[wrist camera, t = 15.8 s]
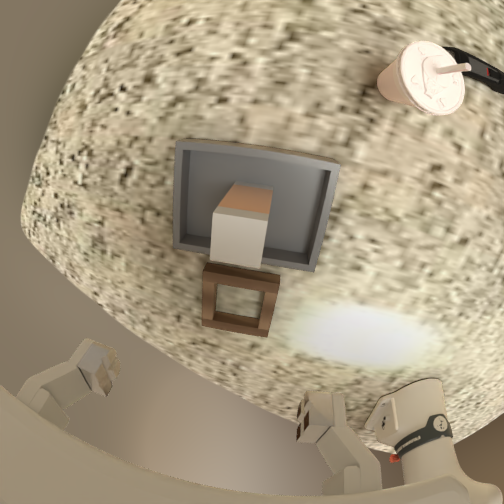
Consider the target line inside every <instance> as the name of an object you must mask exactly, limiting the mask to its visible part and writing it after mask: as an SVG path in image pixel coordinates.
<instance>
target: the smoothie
mask: <svg viewBox="0 0 504 504" xmlns="http://www.w3.org/2000/svg"><path fill="white" fill-rule="evenodd" d="M470 70H471V66H470V64H469V63H463V64H457V63H456V61H455V60H454V58H453V57H452V56H451V55H450V54H449V53H448V52H447V51H446V50H445V49H443V48H442V47H441V46H439V45H437V44H435V43H432V42H429V41H416V42H413V43H410V44H408V45H406V46H405V47H404V48H402V49H401V51H400V53H399V54H398V57H397V59H396V60H395V61H393V62H392V63H391V64H390V65H389V66H388V67H387V68H386V69H385V70H383V71H382V72H381V73H380V74H379V76H378V78H377V87H378V90H379V91H380V93H381V94H382V96H384V97H385V98H386V99H388V100H390V101H394V102H398V103H403V104H407V105H411V106H415V107H417V108H418V109H420V110H422V111H423V112H425V113H427V114H431V115H448V114H451V113H453V112H454V111H456V110H457V109H458V108H459V106H460V105H461V103H462V101H463V98H464V92H465V86H464V79H463V76H462V73H461V72H463V71H470Z"/></svg>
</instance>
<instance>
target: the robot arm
mask: <svg viewBox="0 0 504 504" xmlns="http://www.w3.org/2000/svg"><path fill="white" fill-rule="evenodd" d="M116 354H117V353H116V350H115V349H113V348H111V347H108V346H106V345H103V344H100V343H97V342H96V341H93V340H90V339H88V338H86V339H84V340H83V341H82V342H81V344H80V345H79V346H78V348H77V349H76V351H75V352H74V353H73V355H72V356H71V358H70V359H69V361H68V362H62V363H60V364H58V365H56V366H54V367H51V368H49V369H47V370H45V371H43V372H41V373H38V374H36V375H34V376H32V377H30V378H28V379H27V381H26V382H25V384H24V385H23V387H22V388H21V390H20V391H19V392H18V394H17V395H16V397H14V396H13V395H12V394H11V393H9V392H8V391H7V390H6V389H4V388H3V387H2V386H1V385H0V504H502V500H503V497H502V493H501V491H500V489H499V488H498V487H497V486H495V485H493V484H489V483H480V482H477V481H474V480H472V479H470V478H469V477H468V476H466V474H465V473H464V472H463V471H462V469H461V467H460V465H459V462H458V460H457V457H456V453H455V450H454V446H453V442H452V437H453V435H452V429H451V426H450V423H449V422H448V420H447V412H446V406H445V402H444V396H445V395H444V391H443V388H442V382H441V381H440V380H439V379H425V380H421V381H418V382H415V383H412V384H410V385H408V386H406V387H404V388H402V389H400V390H398V391H397V392H394V393H392V394H389V395H386V396H383V397H381V398H380V399H379V401H378V402H377V404H376V406H375V408H374V410H373V411H372V413H371V415H370V416H369V418H368V420H367V421H366V423H365V425H364V427H365V429H367V430H374V431H375V435H376V439H377V441H378V442H380V443H382V444H386V445H388V446H391V447H394V449H395V451H396V453H397V454H392V455H391V456H390V462H391V463H392V462H398V461H399V460H400V459H401V460H402V466H403V474H404V483H405V485H403V486H398V487H393V488H388V489H382V481H381V468H380V462H379V461H378V460H377V459H376V458H375V456H374V455H373V454H372V453H371V452H370V450H369V449H368V448H367V447H366V445H365V444H364V443H363V442H362V441H361V439H360V438H359V437H358V436H357V434H356V433H355V432H354V431H353V429H352V428H351V427H347V421H346V411H345V402H344V395H343V393H335V392H320V391H306V393H305V394H304V399H303V400H301V402H300V404H299V407H298V412H297V420H298V422H299V423H300V424H299V426H298V428H297V435H296V442H304V443H316V446H317V448H318V449H319V451H320V453H321V454H322V456H323V457H324V459H325V461H326V463H327V464H328V466H329V468H330V469H331V471H332V472H333V474H334V475H333V476H331V477H330V478H328V479H327V480H325V481H324V482H323V483H322V496H284V495H283V496H282V495H267V494H257V493H248V492H240V491H233V490H227V489H221V488H216V487H211V486H206V485H201V484H197V483H193V482H189V481H185V480H181V479H178V478H174V477H171V476H167V475H164V474H161V473H158V472H155V471H152V470H149V469H146V468H143V467H140V466H137V465H135V464H132V463H130V462H127V461H125V460H122V459H120V458H118V457H115V456H113V455H111V454H108V453H106V452H104V451H102V450H100V449H98V448H96V447H94V446H92V445H90V444H88V443H86V442H84V441H82V440H80V439H78V438H76V437H75V436H73V435H71V434H69V433H67V432H66V431H64V430H65V428H66V426H67V424H68V422H69V417H68V416H67V415H66V413H65V412H64V411H63V410H65V409H66V408H68V407H69V406H71V405H72V404H74V403H75V402H77V401H79V400H80V399H81V398H83V397H84V396H86V395H88V394H89V393H91V391H93V392H95V393H98V394H100V395H103V396H105V397H107V396H108V394H109V392H110V390H111V388H112V381H113V380H115V379H117V377H118V375H119V372H120V361H119V360H118V358H117V357H116Z"/></svg>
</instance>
